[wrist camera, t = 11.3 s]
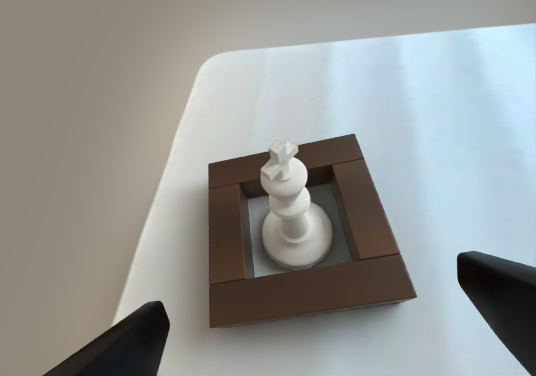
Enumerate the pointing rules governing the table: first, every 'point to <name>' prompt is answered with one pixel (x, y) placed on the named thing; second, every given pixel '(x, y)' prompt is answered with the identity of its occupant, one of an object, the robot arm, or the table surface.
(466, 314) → the table surface
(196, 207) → the table surface
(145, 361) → the robot arm
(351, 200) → the frame
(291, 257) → the chess piece
